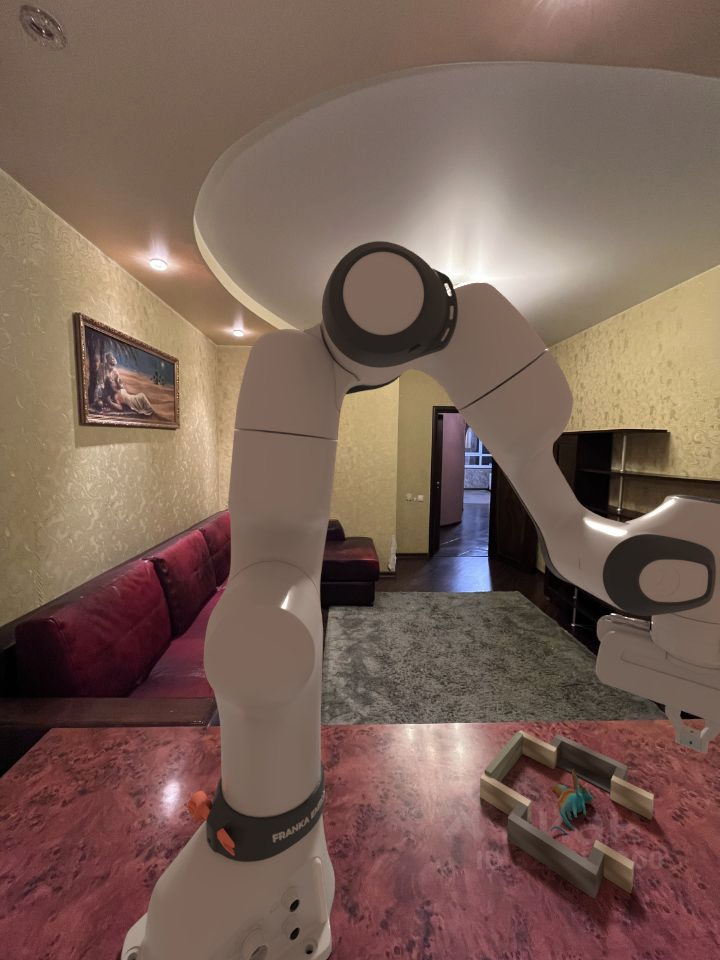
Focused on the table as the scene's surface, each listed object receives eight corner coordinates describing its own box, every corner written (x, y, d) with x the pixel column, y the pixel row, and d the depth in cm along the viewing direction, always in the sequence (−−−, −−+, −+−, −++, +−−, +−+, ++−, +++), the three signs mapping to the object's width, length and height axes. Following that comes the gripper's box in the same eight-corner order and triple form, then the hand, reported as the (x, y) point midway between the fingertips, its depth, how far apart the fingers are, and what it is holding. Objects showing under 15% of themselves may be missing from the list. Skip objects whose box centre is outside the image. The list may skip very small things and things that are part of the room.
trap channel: (657, 799, 60) (658, 777, 60) (623, 919, 44) (625, 889, 44) (528, 736, 73) (528, 717, 73) (467, 811, 58) (468, 788, 57)
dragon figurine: (619, 848, 52) (604, 781, 59) (563, 822, 52) (555, 758, 59) (589, 864, 55) (578, 799, 62) (537, 839, 56) (532, 777, 63)
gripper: (591, 616, 52) (587, 718, 53) (832, 677, 38) (821, 815, 39) (603, 603, 57) (600, 697, 58) (824, 653, 43) (814, 777, 44)
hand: (691, 746), depth 48 cm, fingers closed
